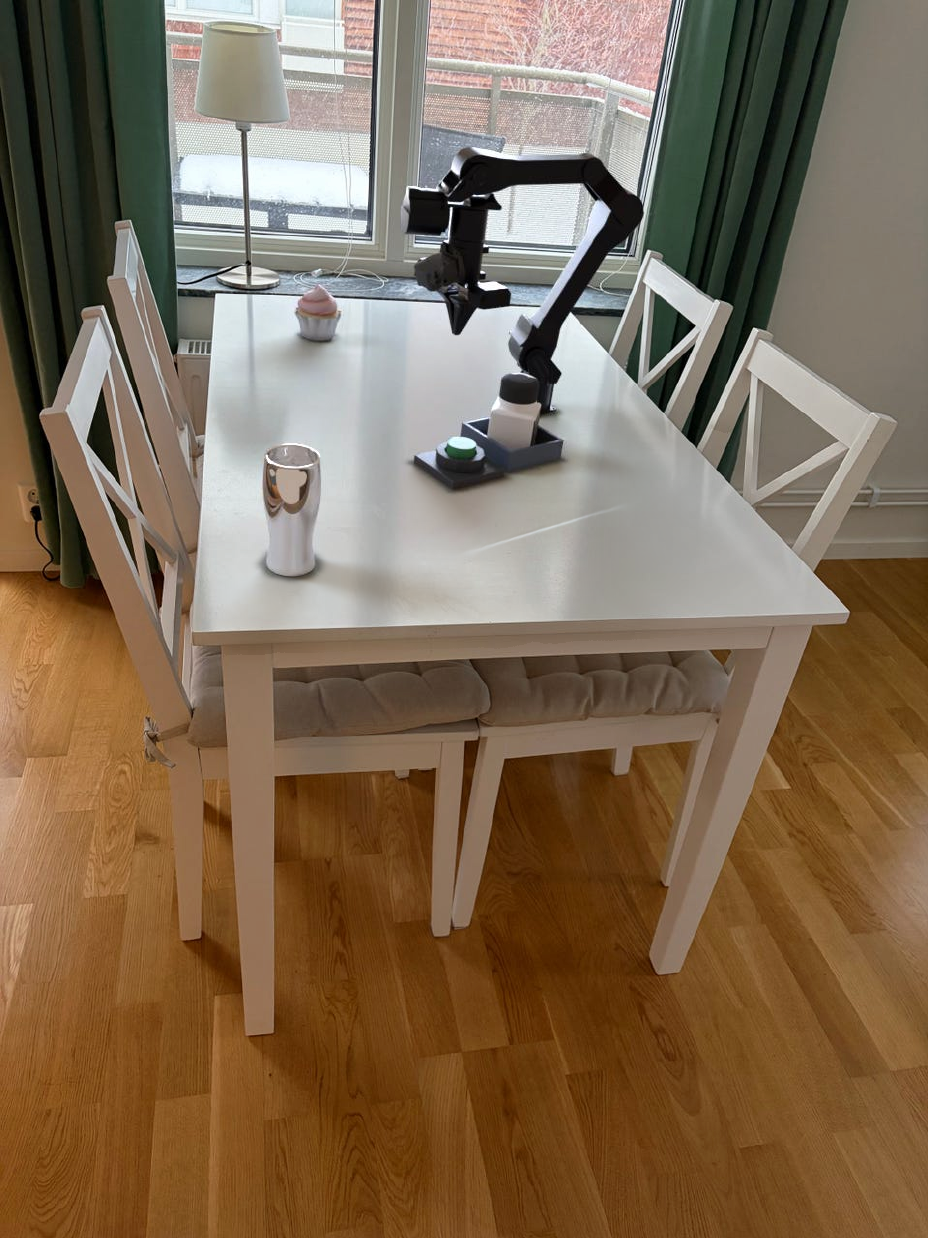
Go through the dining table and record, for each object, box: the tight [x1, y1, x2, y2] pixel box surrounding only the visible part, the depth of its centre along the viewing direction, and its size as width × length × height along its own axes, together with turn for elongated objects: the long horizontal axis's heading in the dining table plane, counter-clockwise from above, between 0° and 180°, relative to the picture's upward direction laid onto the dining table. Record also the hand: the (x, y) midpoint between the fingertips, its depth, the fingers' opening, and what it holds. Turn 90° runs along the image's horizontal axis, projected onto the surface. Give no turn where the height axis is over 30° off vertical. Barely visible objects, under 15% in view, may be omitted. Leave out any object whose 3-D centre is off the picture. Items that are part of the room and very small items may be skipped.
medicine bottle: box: [487, 372, 541, 451], centre depth 157 cm, size 7×7×12 cm
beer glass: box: [261, 443, 322, 577], centre depth 121 cm, size 7×7×15 cm
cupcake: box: [293, 283, 342, 342], centre depth 192 cm, size 9×9×10 cm
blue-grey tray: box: [460, 416, 565, 474], centre depth 160 cm, size 11×12×3 cm
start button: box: [446, 436, 476, 459], centre depth 151 cm, size 4×4×2 cm
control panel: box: [413, 441, 506, 491], centre depth 152 cm, size 10×10×3 cm
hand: (456, 334), depth 165 cm, fingers closed
